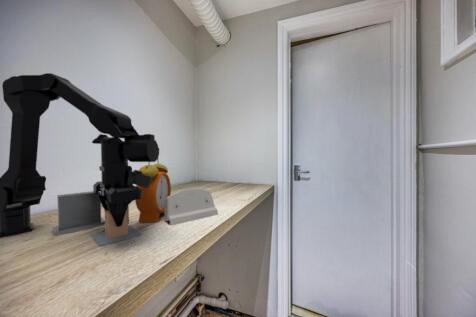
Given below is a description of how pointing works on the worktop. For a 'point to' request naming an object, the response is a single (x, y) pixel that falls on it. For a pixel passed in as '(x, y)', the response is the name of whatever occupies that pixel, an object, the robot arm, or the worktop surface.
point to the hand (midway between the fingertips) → (116, 223)
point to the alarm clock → (153, 193)
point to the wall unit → (78, 212)
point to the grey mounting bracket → (189, 206)
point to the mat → (104, 240)
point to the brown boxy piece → (111, 227)
